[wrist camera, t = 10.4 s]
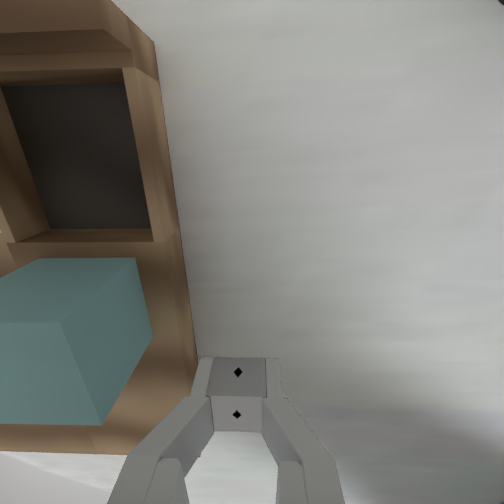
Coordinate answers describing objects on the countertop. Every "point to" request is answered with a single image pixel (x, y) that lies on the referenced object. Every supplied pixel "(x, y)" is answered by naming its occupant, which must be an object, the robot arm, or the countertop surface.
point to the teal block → (69, 339)
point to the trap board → (93, 192)
